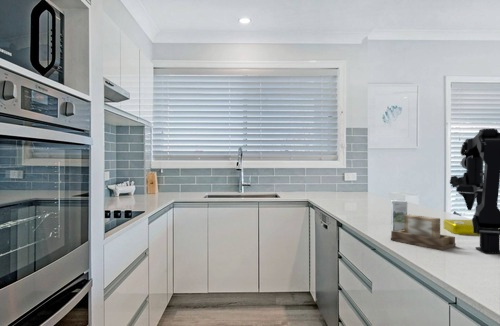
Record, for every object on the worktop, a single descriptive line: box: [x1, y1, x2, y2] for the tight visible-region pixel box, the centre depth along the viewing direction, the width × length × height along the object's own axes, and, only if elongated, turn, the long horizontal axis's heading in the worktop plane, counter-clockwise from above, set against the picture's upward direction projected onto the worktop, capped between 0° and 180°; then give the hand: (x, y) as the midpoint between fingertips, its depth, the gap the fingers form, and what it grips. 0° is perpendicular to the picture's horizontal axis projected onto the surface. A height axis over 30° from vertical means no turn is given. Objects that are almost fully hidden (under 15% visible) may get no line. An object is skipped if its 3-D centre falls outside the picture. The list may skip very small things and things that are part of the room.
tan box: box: [405, 214, 441, 238], centre depth 136 cm, size 12×4×9 cm, turn 37°
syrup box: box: [390, 199, 408, 232], centre depth 153 cm, size 6×6×14 cm
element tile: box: [443, 218, 480, 236], centre depth 158 cm, size 15×15×5 cm
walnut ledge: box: [390, 229, 457, 251], centre depth 136 cm, size 20×10×4 cm, turn 37°
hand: (474, 209), depth 143 cm, fingers open, 9 cm apart
